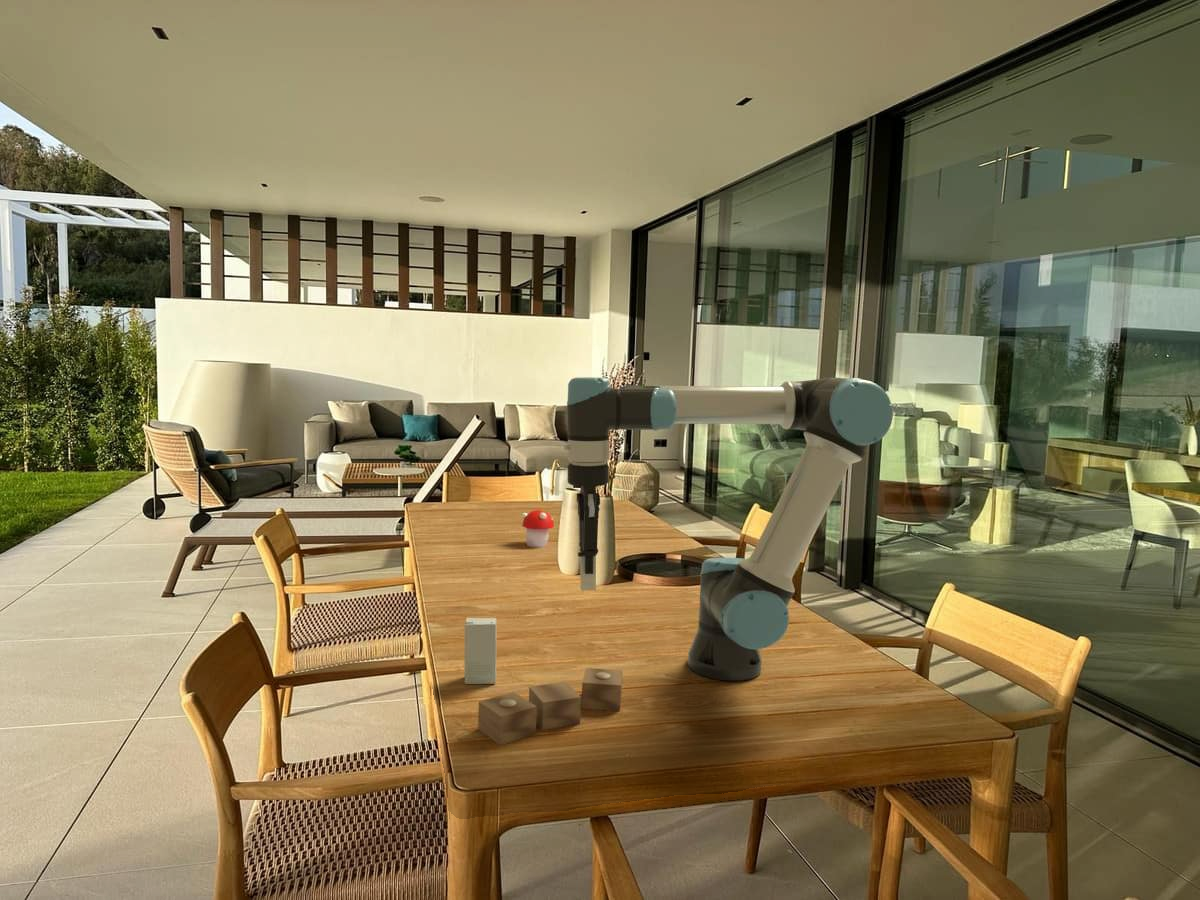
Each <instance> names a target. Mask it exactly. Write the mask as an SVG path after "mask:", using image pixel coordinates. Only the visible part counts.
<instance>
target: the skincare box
mask: <svg viewBox="0 0 1200 900" xmlns="http://www.w3.org/2000/svg"><path fill="white" fill-rule="evenodd" d="M464 622H465V623H464V685H493V684H494V685H495V684H496V682H497V618H496V617H466V618H465V621H464Z"/></svg>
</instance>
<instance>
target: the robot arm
mask: <svg viewBox="0 0 1200 900" xmlns="http://www.w3.org/2000/svg"><path fill="white" fill-rule="evenodd" d="M566 407H567V409H566V410H567V411H566V413H567V415H566V416H567V419H566V420H567V443H568V444H565V445H564V448H563V449H564V450H566V451H567V461H569V463H568V465H567V483H568V484H569V485H570V486H573V487H579V488H580V492H579V493H576V502H577V514H578V519H579V520H578V521H579V523H578V526H579V527H578V528H579V529H578V530H579V531H578V532H579V533H578V535H579V542H578V545H579V547H580V549H579V552H577V556H578V557H580V562H579V563H580V591H596V590H597V573H596V572H597V555H598V553H599V548H598V540H599V539H598V538H599V536H598V535H599V517H600V515H599V514H600V509H601V508H600V507H599V506H600V504H601V495H599V492H597V487H602V486H606V485H608V484H609V482H610V465H609V464H608V463H607V462H608V461H610V431H611V430H612V431H618V430H625V431H626V430H628V431H629V430H630V431H631V430H634V431H635V430H636V431H637V430H640V431H641V430H644V431H645V430H646V431H647V430H649V431H658V430H670V429H671V428H673V426H674V425H676V424H678V425H679V424H680V425H681V424H682V425H683V424H684V425H685V424H688V425H691V424H692V425H693V424H694V425H698V424H699V425H700V424H701V425H708V424H709V425H723V424H724V425H780V426H781V428H782V429H785V430H799V431H803V436H804V439H805V442H806V445H805V448H804V449H803V452H802V454H801V455H800V458H799V460H798V462H797V464H796V465H795V467H794V470H793V472H792V474H791V476H790V478H789V479H788V481H787V484H786V485H785V488H784V490H783V491H782V494H781V495H780V496H779V497H780V498H779V500H778V502H777V504H776V506H775V508H774V509H773V512H772V514H771V515H770V517H769V519H768V521H767V523H766V525H765V528H764V530H763V532H762V533H761V535H760V537H759V539H758V541H757V543H756V545H755V547H754V549H753V551H752V552H751V555H750V556H749V558H741V557H739V558H738V557H711V558H707V559H704V561H703V562H702V564H701V571H700V574H699V575H700V587H699V589H700V590H699V607H698V626H697V627H698V628H697V631H696V633H695V636H694V638H693V642H692V643H691V646H690V649H689V651H688V654H687V655H688V658H687V665H688V668H689V669H690V670H691V671H693V672H694V673H696V674H698V675H700V676H703V677H706V678H710V679H713V680H720V681H727V682H728V681H730V682H737V681H738V682H739V681H747V680H751V679H753V678H757V677H758V676H759V675H760V674H761V672H762V665H763V664H762V657H761V656H762V655H761V653H760V650H762V649H765V648H767V647H771V646H774V645H775V644H776V643H778V642H779V641H780V640H781V639H782V638H783V637H784V635H785V634H786V632H787V629H788V627H789V624H790V614H789V609H788V606H789V603H790V601H791V600H792V598H793V596H794V594H795V591H796V589H795V587H794V584H793V576H794V575H795V573H796V571H797V569H798V567H799V565H800V563H801V561H802V559H803V557H804V555H805V554H806V551H807V549H808V547H809V545H810V543H811V541H813V540H812V539H813V538H814V536H815V534H816V532H817V530H818V528H819V525H820V524H821V522H822V521H823V518H824V516H825V514H826V512H827V510H828V508H829V506H830V504H831V502H832V501H833V499H834V496H835V495H836V492H837V491H838V488H839V486H840V485H841V483H842V481H843V479H844V478H845V477H844V476H845V475H846V473H847V471H848V468H849V467H850V465H852V464H855V463H858V462H861V461H862V460H863V458H864V457H865V454H866V452H867V450H868V449H869V447H870V445H872V444H875V443H877V442H879V441H880V440H882V439H883V438H884V437H885V436H886V434H888V431H889V430H890V428H891V426H892V423H893V417H894V412H893V411H894V409H893V405H892V402H891V400H890V397H889V395H888V393H887V391H886V390H884V389H883V387H881V386H880V385H879V384H878V383H874V382H873V381H870V380H865V379H863V378H861V377H859V378H858V377H851V378H847V377H846V378H845V377H824V378H816V379H811V380H801V381H799V380H798V381H797V380H796V381H784V382H783V383H781V385H779V386H770V385H769V386H760V385H759V386H758V385H757V386H751V385H749V386H747V385H744V386H743V385H741V386H738V385H737V386H735V385H733V386H731V385H722V386H721V385H718V386H717V385H710V386H709V385H658V386H657V385H655V386H654V385H636V384H625V385H623V386H621V387H620V388H614V387H611V385H610V380H609V379H608V378H607V377H592V376H591V377H589V376H587V377H584V376H583V377H573V378H571V379H570V380H569V382H568V385H567V402H566Z"/></svg>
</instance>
